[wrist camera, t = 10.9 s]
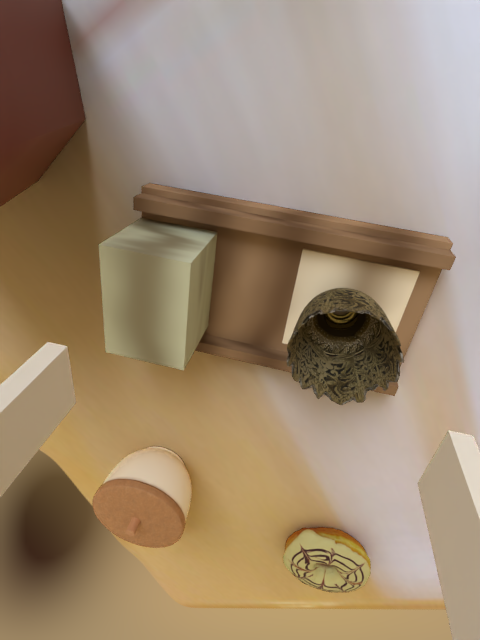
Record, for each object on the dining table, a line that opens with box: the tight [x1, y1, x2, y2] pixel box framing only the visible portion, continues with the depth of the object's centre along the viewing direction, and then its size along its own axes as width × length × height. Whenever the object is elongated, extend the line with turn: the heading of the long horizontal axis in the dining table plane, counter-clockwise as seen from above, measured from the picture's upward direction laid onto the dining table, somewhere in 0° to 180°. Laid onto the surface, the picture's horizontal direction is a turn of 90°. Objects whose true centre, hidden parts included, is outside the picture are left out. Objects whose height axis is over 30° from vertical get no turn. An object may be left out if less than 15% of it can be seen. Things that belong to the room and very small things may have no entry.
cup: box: [287, 288, 404, 405], centre depth 29 cm, size 8×7×8 cm
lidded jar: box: [93, 446, 192, 548], centre depth 46 cm, size 11×11×9 cm
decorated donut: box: [283, 527, 370, 592], centre depth 50 cm, size 10×11×4 cm
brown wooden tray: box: [99, 183, 456, 396], centre depth 31 cm, size 24×14×8 cm, turn 83°
